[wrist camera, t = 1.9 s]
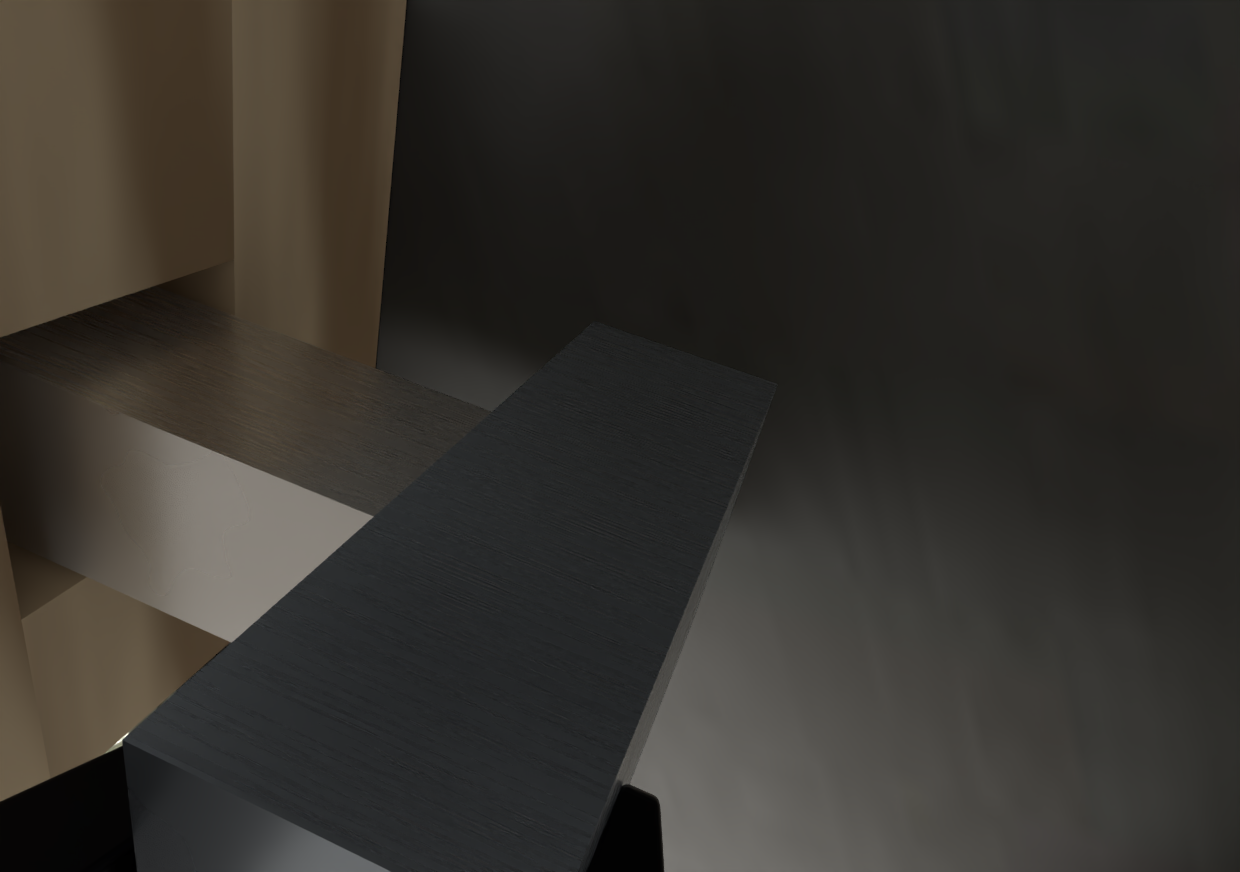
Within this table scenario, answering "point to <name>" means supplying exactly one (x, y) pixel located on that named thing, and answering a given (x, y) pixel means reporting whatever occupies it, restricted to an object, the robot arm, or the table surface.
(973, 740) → the table surface
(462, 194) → the table surface
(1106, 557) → the table surface
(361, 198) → the wooden block
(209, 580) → the pale grey block
